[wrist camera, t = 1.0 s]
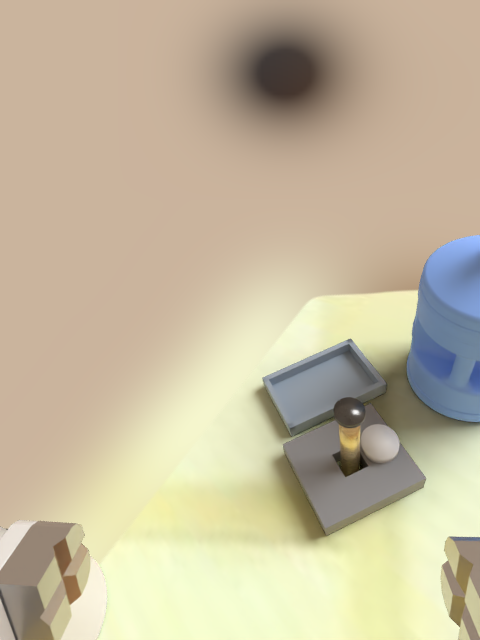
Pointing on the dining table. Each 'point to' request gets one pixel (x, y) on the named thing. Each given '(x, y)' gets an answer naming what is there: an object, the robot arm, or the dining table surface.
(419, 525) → the dining table surface
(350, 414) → the lock pin
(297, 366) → the tray
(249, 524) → the dining table surface
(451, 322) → the water jug
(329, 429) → the block
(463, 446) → the dining table surface
